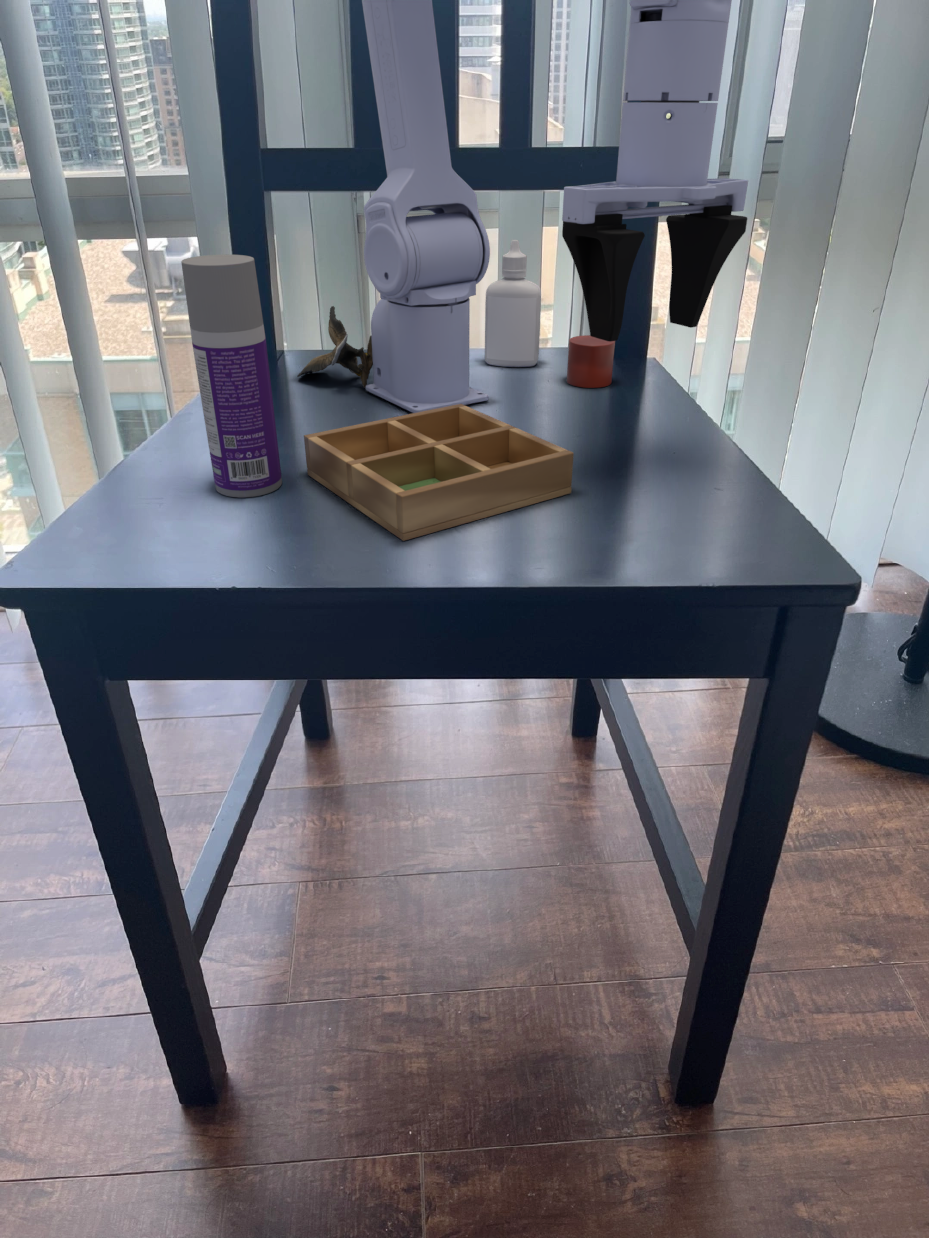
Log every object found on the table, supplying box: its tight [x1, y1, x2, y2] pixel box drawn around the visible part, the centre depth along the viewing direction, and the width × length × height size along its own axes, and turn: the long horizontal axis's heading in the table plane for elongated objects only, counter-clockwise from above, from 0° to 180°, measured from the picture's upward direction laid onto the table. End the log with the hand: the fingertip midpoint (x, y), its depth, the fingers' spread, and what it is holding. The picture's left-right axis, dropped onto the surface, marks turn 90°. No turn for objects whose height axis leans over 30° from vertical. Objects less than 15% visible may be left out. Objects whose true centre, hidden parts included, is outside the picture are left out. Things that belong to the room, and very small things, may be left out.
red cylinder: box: [566, 334, 616, 389], centre depth 83 cm, size 4×4×4 cm
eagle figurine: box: [296, 305, 373, 389], centre depth 83 cm, size 8×7×9 cm
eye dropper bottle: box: [484, 239, 542, 368], centre depth 87 cm, size 4×6×12 cm
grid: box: [303, 404, 575, 542], centre depth 60 cm, size 14×14×3 cm
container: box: [180, 254, 283, 498], centre depth 57 cm, size 5×5×15 cm
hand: (644, 331), depth 59 cm, fingers open, 7 cm apart
